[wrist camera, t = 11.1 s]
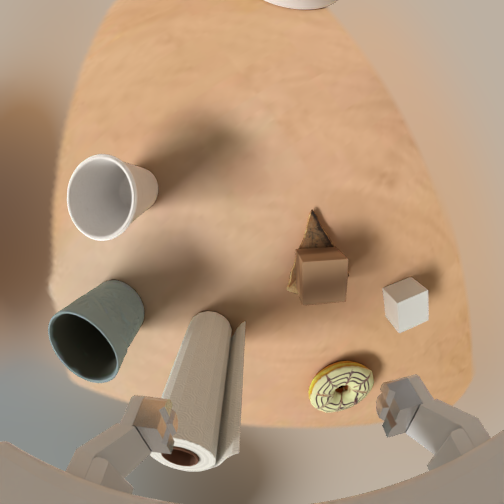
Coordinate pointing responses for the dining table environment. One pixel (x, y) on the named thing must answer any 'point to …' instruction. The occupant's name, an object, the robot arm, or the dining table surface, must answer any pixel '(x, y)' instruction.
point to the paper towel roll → (206, 394)
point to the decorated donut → (335, 376)
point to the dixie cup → (109, 195)
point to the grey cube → (406, 304)
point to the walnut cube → (321, 275)
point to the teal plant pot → (97, 330)
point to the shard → (310, 244)
